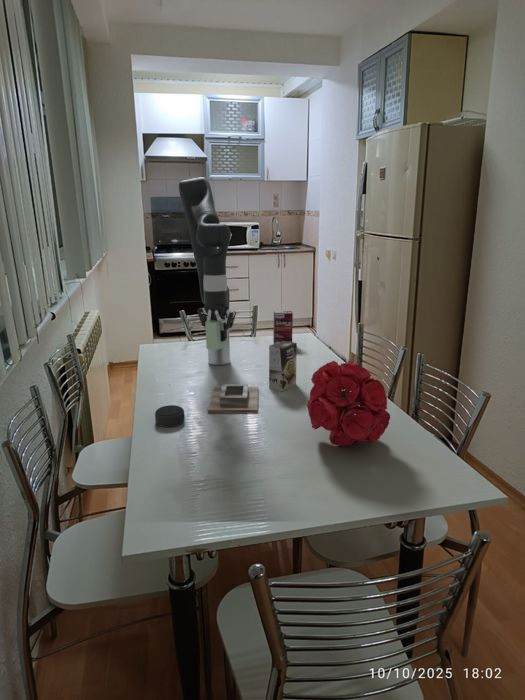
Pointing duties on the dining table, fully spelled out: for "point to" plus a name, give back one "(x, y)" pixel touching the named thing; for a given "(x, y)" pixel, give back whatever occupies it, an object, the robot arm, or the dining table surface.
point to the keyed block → (214, 335)
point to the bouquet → (348, 403)
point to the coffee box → (282, 365)
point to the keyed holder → (234, 399)
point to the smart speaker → (169, 416)
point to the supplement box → (283, 326)
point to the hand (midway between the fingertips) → (217, 339)
